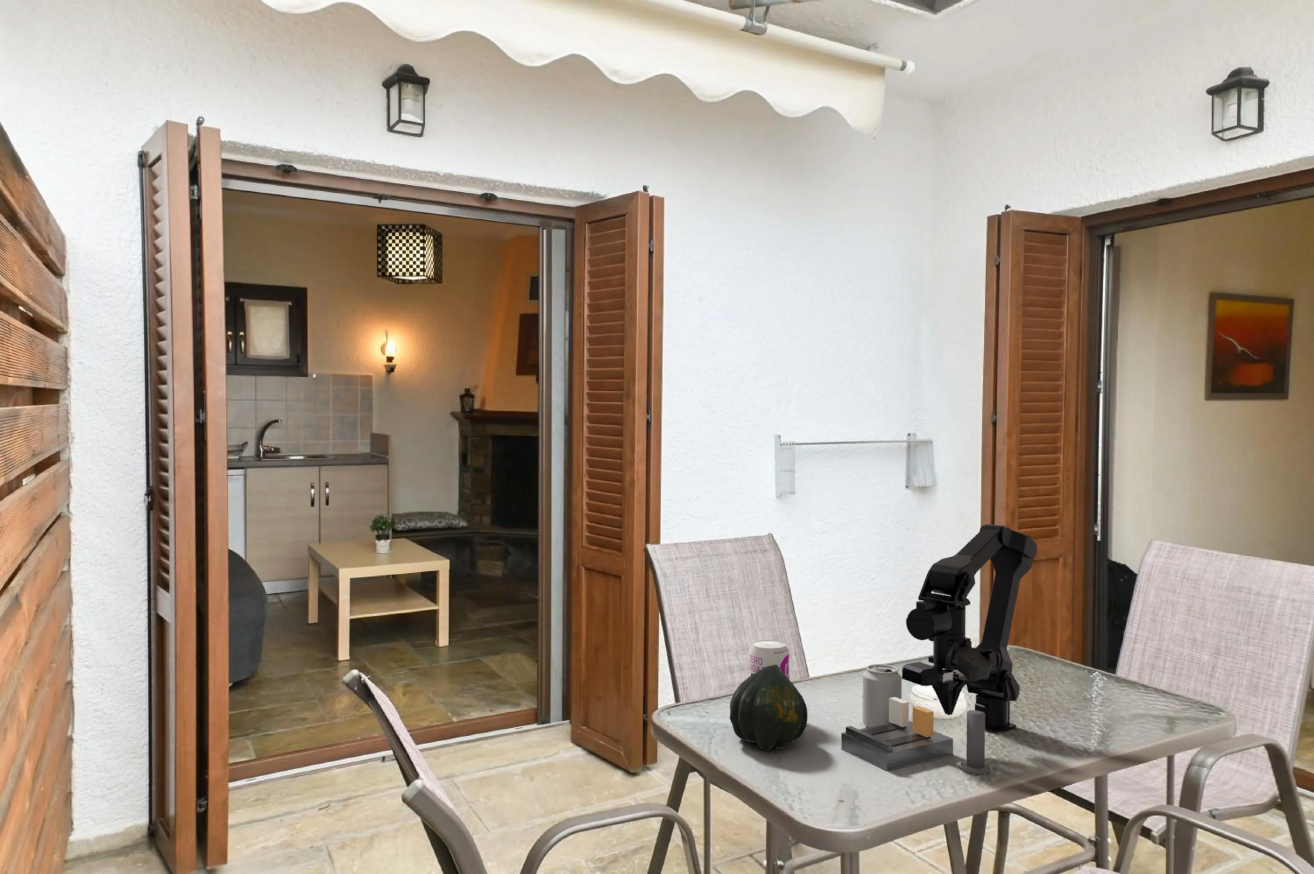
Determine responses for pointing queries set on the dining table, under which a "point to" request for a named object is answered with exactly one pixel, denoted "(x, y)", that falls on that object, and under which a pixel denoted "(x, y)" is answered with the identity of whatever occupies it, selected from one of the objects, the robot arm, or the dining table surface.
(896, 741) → the breaker block
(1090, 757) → the dining table surface
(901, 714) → the slider
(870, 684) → the can
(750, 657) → the supplement can
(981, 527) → the robot arm
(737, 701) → the squash
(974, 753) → the rubber post
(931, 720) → the slider
